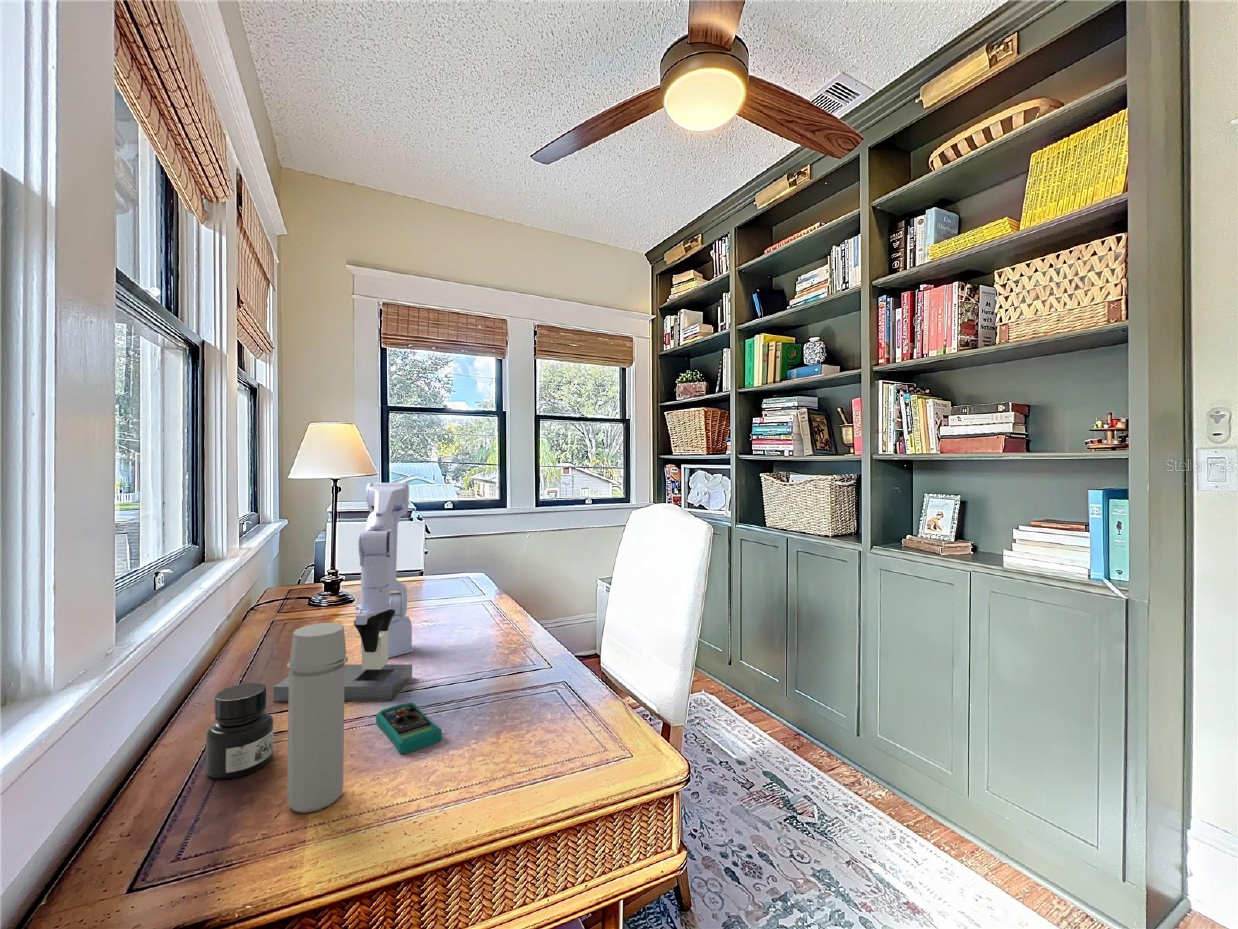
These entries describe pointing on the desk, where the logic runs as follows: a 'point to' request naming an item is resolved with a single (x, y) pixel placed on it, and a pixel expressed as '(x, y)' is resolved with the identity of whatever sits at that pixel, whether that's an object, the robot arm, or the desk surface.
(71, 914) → the desk surface
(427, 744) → the digital multimeter
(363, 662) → the plug
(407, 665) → the jack panel
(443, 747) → the desk surface
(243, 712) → the ink bottle
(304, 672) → the water bottle
